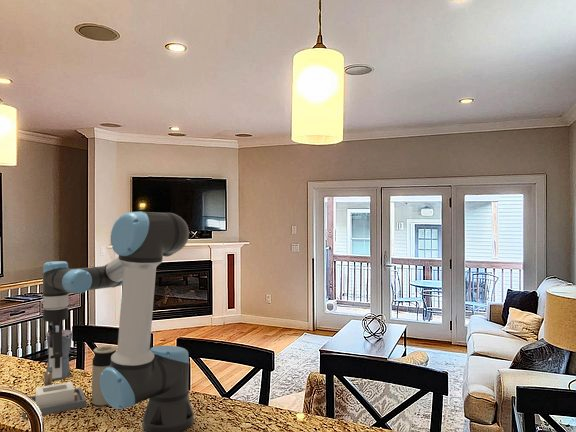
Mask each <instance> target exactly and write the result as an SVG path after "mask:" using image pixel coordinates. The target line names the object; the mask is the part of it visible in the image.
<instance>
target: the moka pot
mask: <svg viewBox="0 0 576 432" xmlns="http://www.w3.org/2000/svg"><path fill="white" fill-rule="evenodd" d="M45 336H46V344H47V345H46V346H47V352H48V354H49V348H51V347H50V346H49V345H50V344H49V338H50V335H49V330H47V332H46V335H45ZM72 338H73V331H72V330H71V329H70V330H69V329H63V330H62V354H63V356H62V377H60V378H54V379H52V381H57V380H64V379H65V378H66V379H67V378H68V377H70V375H71V369H70V357H69V354H70V351H71V345H72V340H73V339H72ZM45 370H46V371H45V372H47V371H52V367H49V358H48V360H47V365H46V369H45Z"/></svg>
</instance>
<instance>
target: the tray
mask: <svg viewBox="0 0 576 432" xmlns="http://www.w3.org/2000/svg"><path fill="white" fill-rule="evenodd" d="M74 389H75V391H74V393H75V392H77V401H74V402H68V403H63V404H58V405H52V406H47V407H41V408H40V410H41V412H42V415H41V416H44V415H50V414H55V413H61V412H65V411H70V410H71V411H72V410H75V409H81V408H86V407H87V398H86V397H85V394H84V391H83V389H82V387H77V388H76V387H75V388H74ZM28 397H30V398H32V399H33V400H34V401H35V395H31V396H28ZM23 418H25V419H28V418H27V417H26V414H25V413H24V412H23V411H22V419H23Z"/></svg>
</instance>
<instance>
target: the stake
mask: <svg viewBox="0 0 576 432" xmlns="http://www.w3.org/2000/svg"><path fill="white" fill-rule="evenodd" d="M43 378H44V381H43V382H44V383H43V384H44V385H43V386H48V385H53V380H52V371H47V372H46V371H44V377H43Z"/></svg>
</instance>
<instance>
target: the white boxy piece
mask: <svg viewBox="0 0 576 432" xmlns="http://www.w3.org/2000/svg"><path fill="white" fill-rule="evenodd" d="M75 389H76V388H75V386H74V384H73V381H67V382H61V383H55V384H52V385H48V386H44V385H43V386H36V387H35V395H34V396H35V402H36V404H37V405H38V406H39V408H41V407H47V406H52V405H58V404H63V403H68V402H74V401H77V392H75V393H74V391H75Z"/></svg>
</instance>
